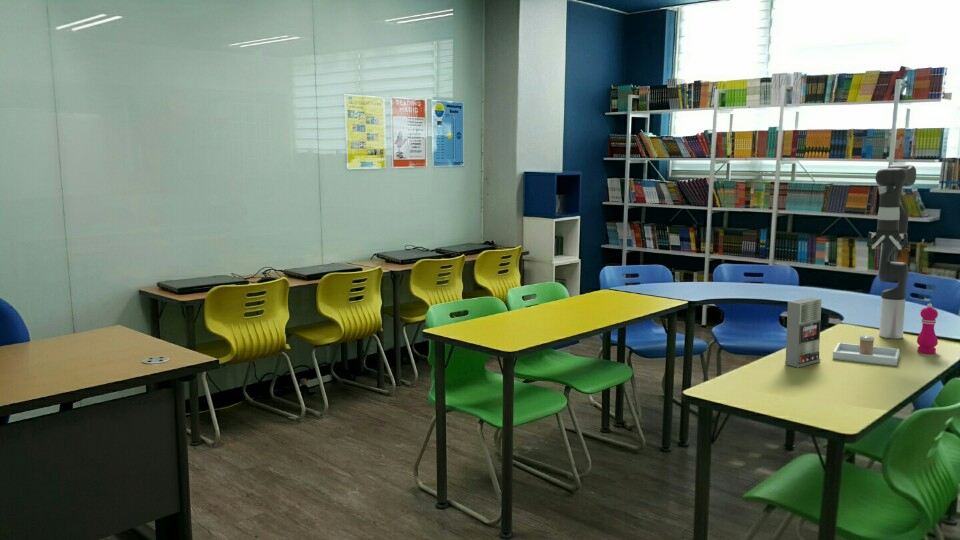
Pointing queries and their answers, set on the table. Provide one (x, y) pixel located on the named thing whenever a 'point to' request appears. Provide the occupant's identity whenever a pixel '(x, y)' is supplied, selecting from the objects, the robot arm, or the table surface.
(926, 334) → the pepper mill
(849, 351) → the tray
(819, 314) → the cassette tape recorder
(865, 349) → the shaker
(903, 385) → the table surface
